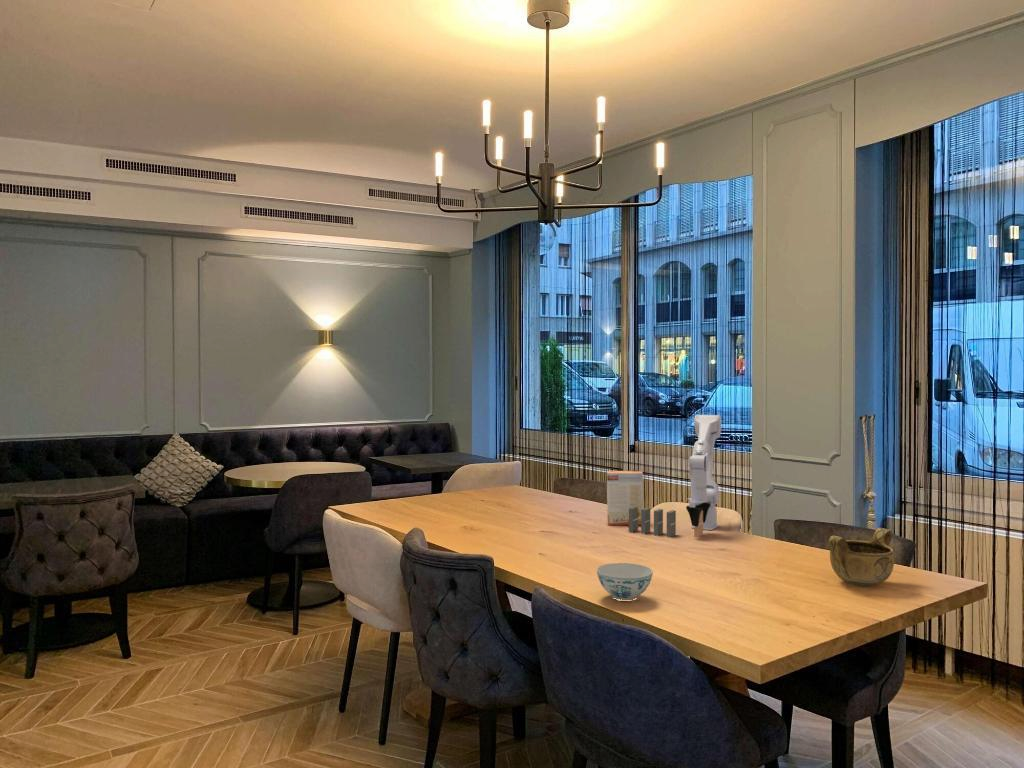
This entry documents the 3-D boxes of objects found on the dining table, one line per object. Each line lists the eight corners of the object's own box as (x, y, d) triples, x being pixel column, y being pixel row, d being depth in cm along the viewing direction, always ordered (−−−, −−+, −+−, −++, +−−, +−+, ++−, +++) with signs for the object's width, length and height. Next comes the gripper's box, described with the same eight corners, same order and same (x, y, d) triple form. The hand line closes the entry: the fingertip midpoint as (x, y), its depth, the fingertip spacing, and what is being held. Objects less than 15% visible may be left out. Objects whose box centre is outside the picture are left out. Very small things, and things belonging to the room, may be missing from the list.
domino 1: (646, 531, 292) (646, 507, 291) (650, 531, 291) (650, 507, 291) (641, 533, 288) (641, 509, 287) (645, 534, 287) (645, 510, 286)
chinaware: (663, 597, 209) (663, 569, 208) (632, 610, 198) (632, 580, 197) (617, 586, 219) (617, 559, 218) (585, 599, 208) (585, 570, 207)
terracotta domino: (698, 534, 286) (698, 510, 286) (703, 534, 285) (703, 510, 285) (694, 536, 282) (694, 512, 282) (698, 537, 281) (698, 512, 281)
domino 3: (671, 534, 286) (671, 510, 286) (675, 534, 285) (675, 510, 285) (666, 536, 282) (666, 512, 282) (670, 537, 281) (670, 512, 281)
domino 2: (658, 532, 289) (658, 508, 289) (663, 533, 288) (663, 509, 288) (653, 535, 285) (653, 510, 285) (657, 535, 284) (658, 511, 284)
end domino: (634, 529, 294) (634, 506, 294) (638, 530, 294) (638, 506, 293) (628, 532, 290) (628, 508, 290) (632, 532, 289) (632, 508, 289)
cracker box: (642, 522, 307) (642, 470, 306) (643, 526, 301) (643, 472, 300) (606, 522, 308) (606, 470, 308) (607, 525, 302) (607, 472, 302)
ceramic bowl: (863, 572, 233) (863, 523, 233) (914, 586, 218) (914, 534, 217) (809, 581, 223) (810, 530, 223) (859, 597, 208) (859, 542, 208)
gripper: (694, 483, 292) (694, 519, 292) (681, 489, 279) (681, 526, 280) (713, 485, 288) (713, 521, 288) (700, 490, 276) (700, 528, 276)
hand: (698, 524), depth 284 cm, fingers open, 7 cm apart
